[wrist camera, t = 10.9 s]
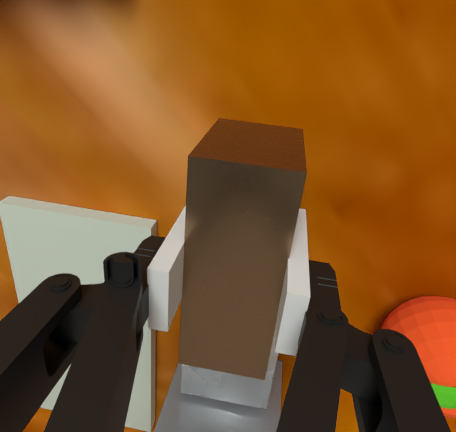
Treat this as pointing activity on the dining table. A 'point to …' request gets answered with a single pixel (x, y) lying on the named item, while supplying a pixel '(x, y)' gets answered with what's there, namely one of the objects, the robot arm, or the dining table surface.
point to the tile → (217, 411)
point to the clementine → (431, 342)
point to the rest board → (79, 270)
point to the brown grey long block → (237, 257)
